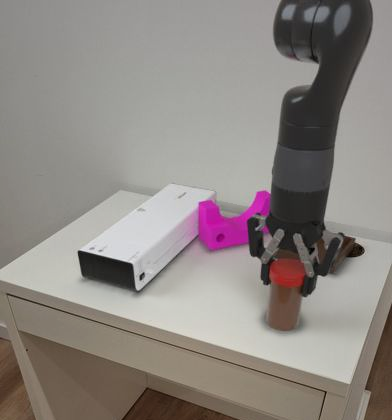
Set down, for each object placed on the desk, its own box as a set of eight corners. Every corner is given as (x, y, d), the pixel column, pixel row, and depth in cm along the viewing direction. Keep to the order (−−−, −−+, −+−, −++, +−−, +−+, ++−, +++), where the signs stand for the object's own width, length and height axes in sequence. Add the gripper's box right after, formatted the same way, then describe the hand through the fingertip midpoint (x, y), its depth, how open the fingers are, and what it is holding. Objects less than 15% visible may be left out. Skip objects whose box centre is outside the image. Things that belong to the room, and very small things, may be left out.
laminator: (171, 209, 110) (170, 182, 106) (220, 219, 106) (221, 191, 102) (82, 281, 86) (76, 250, 82) (141, 297, 82) (138, 265, 78)
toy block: (210, 250, 95) (211, 214, 90) (198, 236, 99) (198, 202, 94) (277, 236, 99) (281, 201, 94) (262, 224, 104) (265, 190, 99)
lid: (278, 263, 75) (279, 254, 74) (313, 273, 72) (315, 264, 71) (262, 280, 71) (263, 271, 70) (298, 291, 69) (300, 282, 68)
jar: (274, 307, 80) (280, 258, 74) (303, 317, 77) (312, 267, 72) (260, 324, 76) (265, 273, 70) (290, 334, 74) (298, 283, 68)
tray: (296, 232, 101) (297, 224, 99) (354, 246, 96) (356, 238, 94) (272, 257, 93) (273, 248, 91) (333, 274, 88) (335, 265, 86)
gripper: (365, 179, 62) (340, 290, 72) (263, 160, 68) (254, 265, 78) (346, 199, 57) (322, 315, 68) (238, 177, 63) (233, 286, 73)
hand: (286, 288), depth 73 cm, fingers closed on lid, 5 cm apart
